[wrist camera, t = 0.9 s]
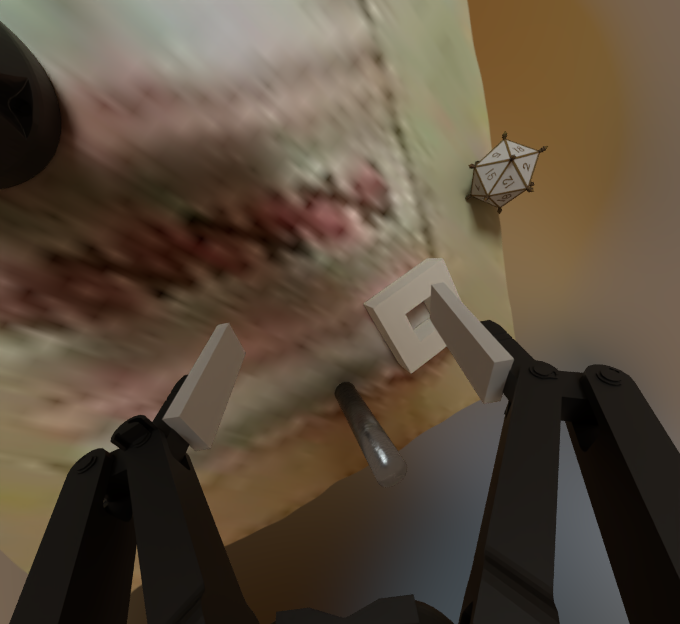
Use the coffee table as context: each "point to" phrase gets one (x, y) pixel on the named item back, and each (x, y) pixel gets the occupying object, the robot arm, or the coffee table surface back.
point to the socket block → (398, 301)
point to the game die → (504, 173)
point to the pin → (371, 437)
